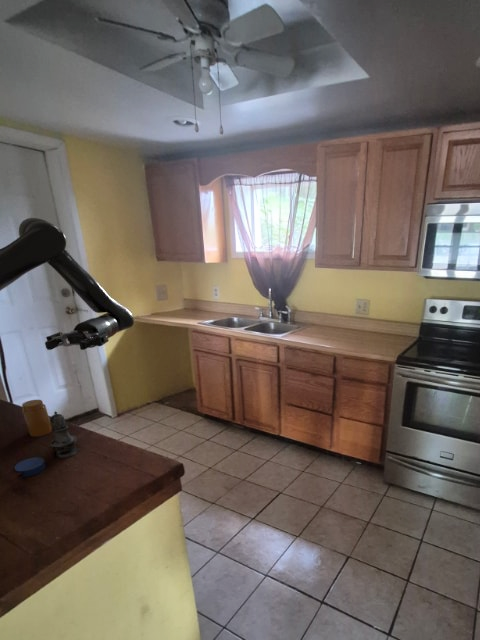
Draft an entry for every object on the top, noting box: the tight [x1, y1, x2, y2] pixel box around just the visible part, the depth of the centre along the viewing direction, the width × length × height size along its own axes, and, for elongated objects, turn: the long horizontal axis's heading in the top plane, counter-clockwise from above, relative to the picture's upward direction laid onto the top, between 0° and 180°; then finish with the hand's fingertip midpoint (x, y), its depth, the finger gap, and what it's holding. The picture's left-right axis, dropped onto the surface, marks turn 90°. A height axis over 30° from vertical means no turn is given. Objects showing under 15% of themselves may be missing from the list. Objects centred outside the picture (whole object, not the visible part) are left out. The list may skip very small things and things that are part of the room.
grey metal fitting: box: [49, 410, 79, 459], centre depth 95 cm, size 6×6×12 cm
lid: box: [13, 456, 47, 478], centre depth 89 cm, size 6×6×2 cm
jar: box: [21, 399, 53, 438], centre depth 103 cm, size 5×5×10 cm
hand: (64, 346), depth 96 cm, fingers open, 8 cm apart
